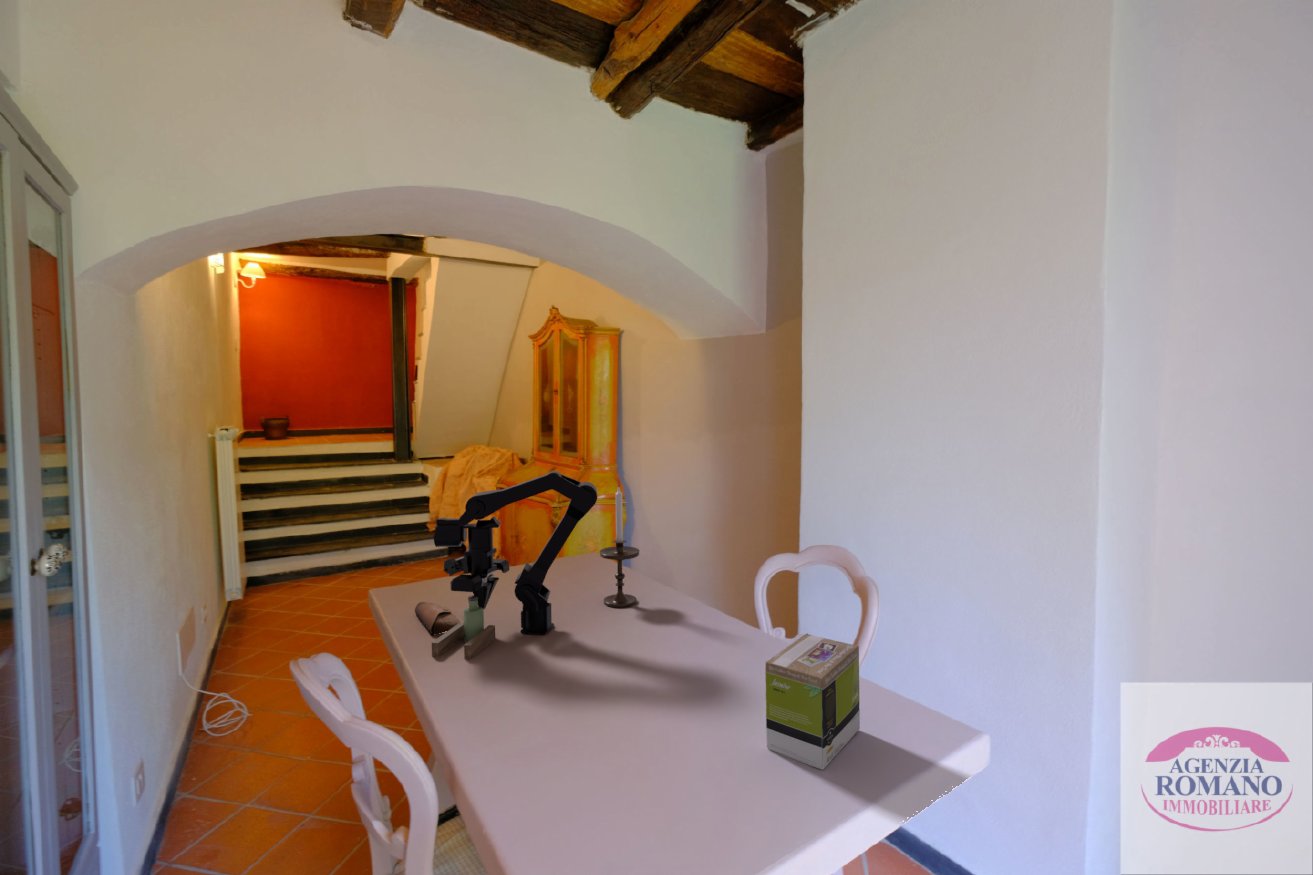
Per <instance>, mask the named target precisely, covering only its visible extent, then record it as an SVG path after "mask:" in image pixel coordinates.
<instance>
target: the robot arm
mask: <svg viewBox="0 0 1313 875" xmlns="http://www.w3.org/2000/svg"><path fill="white" fill-rule="evenodd" d="M551 490H553V491H555V492H557V493H558V494H561V495H562V496H564V497H566V498H567V499H569V500H570V501H569V503H568V505H567V509H566V511H565V513H564V514H563V517H562V518H561V520H560V521H559V523H558V525H557V527H556V528H555V530H554V531H553V533H552V534H551V536H550V538H549V539H548V540H547V542H546V543H545V545H544V547H543V549H541V552H540V553H539V555H538V556H537V558H536V559H535V561H534V562H533V563H532V564H530V563H528V562H526V563H525V565H524V567H523V569H522V571H521V572H520V573H519V574H518V575H517V577H516V579H515V580H514V584H515V587H514V595H515V597H516V599H517V600H518V601H519V602H521V603H522V610H521V611H520V628H521V629H520V631H519V632H520V634H528V635H529V634H531V635H542V636H543V635H544V636H545V635H547V634H548V633H549V632H550V631H551V629H552V628H554V627H555V623H553V622H552V618H553V617H552V603H551V602H549V598H550V594H551V590H550V589H548V587H547V586H546V585H544V582H545V579H546V576H547V574H548V572H549V569H550V567H551V566H552V564H553V563H554V561H555V559H556V558H557V557H558V555H559V553H560V552H561V550H562V549H563V547H564V546H565V544H566V543H567V540H569V537H570V536H571V534H572V532H573V531H574V529H575V527H576V526H577V524H578V523H579V522H581V520H582V519H583V518H584V517H585V516H586V515H587V514H588V513H589V511H590V510H592V508H593V507H594V506H595V505H596V503H597V501H598V490H597V486H595V485H594V483H592V482H588V481H583V482H581V481H579V480H577V479H575V478H572V477H570V476H566V475H565V474H561V473H560V472H559V471H557V470H553V471H549V472H548V473H547V474H543V475H541V476H540V475H539V476H537V477H535V478H531V479H529V480H526V481H523V482H521V483H518V484H514V485H512V486H509V487H505V488H503V489H493V490H486V491H481V492H477V493H476V494H474V495H472V496H471V497H469V498H468V499H467V500H466V503H465V508H464V509H465V511H464V512H463V513H462V515H460V516H459V518H456V517H455V518H445V517H438V518H437V519H436V525H435V529H434V534H433V543H434V547H436V548H447V547H453V548H454V547H462V545H463V543H466V542H467V544H468V550H466V551H464V553H463V556H461V557H458V558H454V557H451V558H448V559H445V560H444V562H443V570H442V571H443V572H445V574H447V575H448V576H449V577H452V576H454V575H455V574H458V573H461V572H462V573H463V574H460V575H458V576H456V577H454V578H452V580H451V581H450V591H452V592H463V593H472V594H473V595H477V596H478V607H482V608H484V610H486V608H487V605H488V603H489V601H490V599H491V596H492V593H493V591H494V590H495V588H496V585H497V583H498V581H499V580H500V578H499V577H495V575H494V574H493V573H494V572H496V571H501V573H502V574H506V573H507V572H509V571H510V562H509V561H508V560H507V559H506V558H505V559H504V558H503V559H501V558H494V554H496V553H497V551H498V550H497V547H494V529H499V527H500V526H501V525H502V522H501V521H500V520H498V519H497V518H496V516H494V515H493V514H495V513H496V512H497V511H499V510H500V509H503V508H504V507H506V506H508V505H510V504H514V503H516V502H519V501H522V500H525V499H528V498H532V497H533V496H537V495H540V494H542V493H545V492H548V491H551ZM490 515H492V517H491V518H490V519H485V518H487V517H489V516H490ZM474 520H475V521H476V523H475V522H474V523H471V522H473V521H474Z"/></svg>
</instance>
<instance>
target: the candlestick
mask: <svg viewBox="0 0 1313 875" xmlns="http://www.w3.org/2000/svg"><path fill="white" fill-rule="evenodd" d="M615 480H616V481H617V482H616V483H617V491H616V492H615V540H613V541H612V542H611V543H614V544H615V546H608V547H604V548H602V549H600V550H599V556H600V558H602V559H606V560H611V561H612V560H614V561H616V563H617V567H616V568H617V569H616V570H617V571H616V573H615V574H614V578H615V579H616V583H615V586H616V587H617V593H615V594H611V595H608V596H606V597H604V598H603V605H604V606H606V607H609V608H614V609H623V608H630V607H633V606H635V605H636V604H637V597H636V596H635V595H632V594H627V593H624V592H623V587H624V586H625V583H624V582H623V580H624V579H625V577H626V574H625V573H623V561H626V560H631V559H634V558H637V557H638V556H639V555H640V549H639V548H637V547H635V546H625V545H624V543H627V541H628V540H624V533H623V532H624V527H623V525H624V524H623V522H624V521H623V520H624V518H623V508H624V507H623V505H624V504H623V492H621V488H620V487H621V481H620V480H619V476H617V478H616V479H615Z"/></svg>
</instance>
